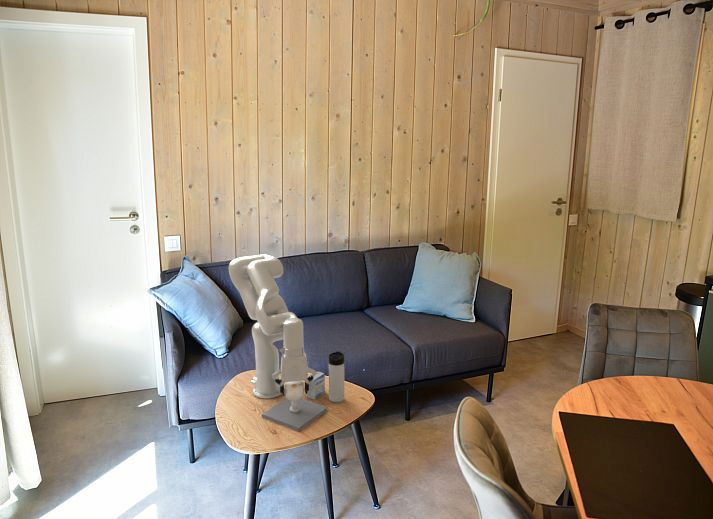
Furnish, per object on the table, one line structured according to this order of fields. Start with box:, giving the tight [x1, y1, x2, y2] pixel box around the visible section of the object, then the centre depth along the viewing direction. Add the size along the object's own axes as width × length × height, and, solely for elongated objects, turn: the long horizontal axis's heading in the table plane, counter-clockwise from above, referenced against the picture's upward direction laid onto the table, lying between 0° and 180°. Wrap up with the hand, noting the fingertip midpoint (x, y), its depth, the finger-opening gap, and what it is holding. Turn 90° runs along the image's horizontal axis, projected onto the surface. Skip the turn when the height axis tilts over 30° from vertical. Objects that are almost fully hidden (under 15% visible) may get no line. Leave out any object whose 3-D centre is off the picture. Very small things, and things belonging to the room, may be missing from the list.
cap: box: [284, 381, 305, 401], centre depth 208 cm, size 7×7×6 cm
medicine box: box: [305, 371, 326, 400], centre depth 225 cm, size 8×4×9 cm, turn 150°
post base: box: [261, 398, 329, 432], centre depth 210 cm, size 18×18×7 cm
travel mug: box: [328, 350, 345, 405], centre depth 219 cm, size 6×7×20 cm
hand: (294, 393), depth 208 cm, fingers open, 8 cm apart
